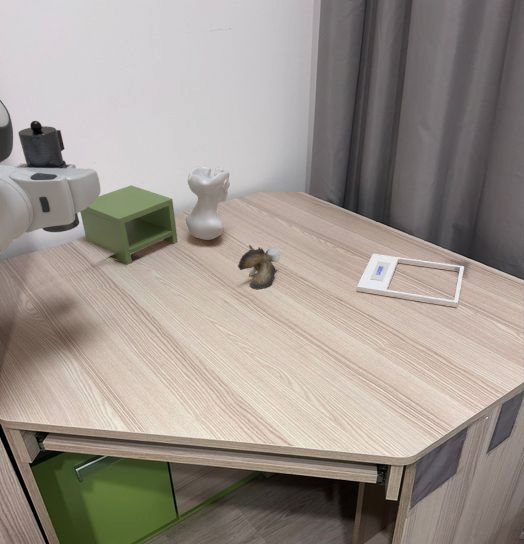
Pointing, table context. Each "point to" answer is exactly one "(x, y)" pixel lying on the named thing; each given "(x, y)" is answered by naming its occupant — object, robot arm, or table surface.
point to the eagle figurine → (260, 265)
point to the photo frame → (382, 273)
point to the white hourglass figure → (207, 201)
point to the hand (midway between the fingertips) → (49, 168)
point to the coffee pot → (44, 156)
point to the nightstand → (129, 221)
